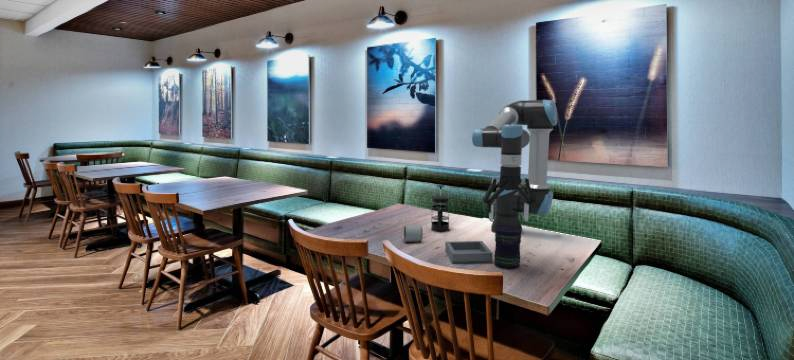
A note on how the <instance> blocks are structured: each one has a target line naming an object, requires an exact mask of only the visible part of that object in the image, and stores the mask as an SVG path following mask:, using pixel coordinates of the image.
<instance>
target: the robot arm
mask: <svg viewBox="0 0 794 360" xmlns="http://www.w3.org/2000/svg"><path fill="white" fill-rule="evenodd" d="M557 125H558V110H557V106H556V102H555V101H554V100H550V99H536V100H535V99H534V100H532V99H531V100H530V99H529V100H518V101H514V102H511V103H510V104H507V105H505V106H504V107H503V108H502V109H500V111H499V112H498V114H497V116H496V117H495V118H494V119H492V120H491V121H490V123H488V124H487V125H486V126H485V127H484V128H475V129H474V130H473V132H472V134H471V135H472V136H471V142H472V145H473V146H474V147H478V148H493V149H494V148H495V149H499V148H500V169H499V170H500V171H499V178H494V177H492V178H491V180H490V185H489V187H488V189H487V190H486V192H485V193H484V196H483V198H482V199H481V201H482V202H483V203H484V204H486V212H487V213H488V214H489V216H488V220H489V221H490V222H491V226H490V227H491V229H490V230H491V232H492V233H494V234H495V231H496V229H495V228H496V226H498V225H514V226H518V227H520V228H521V234H522V233H523V226H522V223H521V220H520V213H521V214H522V213H523V221H525V222H529V214H533V215H537V216H538V215H540V216H541V215H542V216H543V215H545V216H546V215H547V214H549V212H550V210H551V206H552V203H553V198H554V192H553V191H552V190H551V189H550V185H548V184H547V182H548V164H549V163H548V161H549V149H550V148H549V146H550V144H549V143H550V133H551V132H552V131H553V130H554V126H557ZM523 126H526V130H525V129H523ZM526 146H529V150H528V169H527V170H528V173H527V177H524V178H521V177H522V175H521V174H522V167H521V165H522V150H523V148H525V147H526ZM498 183H499V186H498V187H497V188H496V190H495V191H494V189H495V187H496V186H497V185H498ZM521 184H523V185H524V187H523V188H521ZM494 202H495V205H494V204H493V203H494ZM494 206H495V208H494ZM494 211H495V212H494ZM494 213H495V214H494Z"/></svg>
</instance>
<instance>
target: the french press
mask: <svg viewBox="0 0 794 360" xmlns="http://www.w3.org/2000/svg"><path fill="white" fill-rule="evenodd" d="M436 187H438V188H439V195H433V196H431V198H432V202H433V203H437V204H433V205H431V211H435V212H437V214H436V215H432V216H431V220H434V221H431V227H430V230H431V231H433V232H437V233H444V232H448V231H450V216H447V215H443V212H446V211H447V212H449V211H450V206H449V205H447V204H446V203H449V201H450V200H449V199H450V196H447V195H442V189H443V188H445V187H446V186H445V185H443V184H438V185H436ZM447 220H448V221H447Z"/></svg>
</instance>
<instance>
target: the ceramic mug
mask: <svg viewBox="0 0 794 360" xmlns="http://www.w3.org/2000/svg"><path fill="white" fill-rule="evenodd" d="M423 232H424V231H423V228H422V226H419V225H409V224H408V225H406V224H405V225H404V227H403V240H404V241H403V242H404V243H411V242H413V243H414V242H415V243H416V242H421V241H422V240H423V235H424V234H423Z"/></svg>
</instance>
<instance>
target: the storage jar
mask: <svg viewBox="0 0 794 360" xmlns="http://www.w3.org/2000/svg"><path fill="white" fill-rule="evenodd" d="M495 229H496V231H495V233H494V237H495V238H494V241H495V242H494V243H495V249H494V258H493V260H494V266H495V267H496V268H499V269H501V270H508V271H509V270H510V271H511V270H512V271H513V270H517V269H519V268H520V267H521V265H520V262H521V252H520V251H521V250H520V249H521V244H522V233H521V228H520V227H518V226H514V225H498V226H496V228H495Z"/></svg>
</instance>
